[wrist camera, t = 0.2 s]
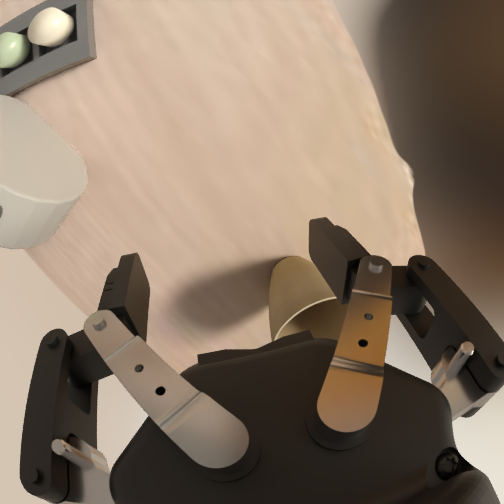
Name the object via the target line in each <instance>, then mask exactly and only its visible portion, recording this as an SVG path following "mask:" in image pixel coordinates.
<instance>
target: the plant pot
mask: <svg viewBox="0 0 504 504" xmlns="http://www.w3.org/2000/svg"><path fill="white" fill-rule="evenodd" d="M348 305H349V303H347V304H344V305H341V304H340V302H339V301H338V299H337V298H336V296H335V295H334V293H333V292H332V290H331V288H330V287H329V285H328V284H327V282H326V281H325V279H324V278H323V276H322V275H321V273H320V272H319V270H318V269H317V267H316V266H315V264H314V263H313V262H311V261H309V260H306V259H304V258H302V257H299V256H290V257H287V258H284V259H282V260H281V261H279V262H278V263H277V264H276V265H275V267H274V268H273V270H272V274H271V280H270V288H269V322H270V331H271V338H272V342H273V341H275V340H277V339H279V338H281V337H283V336H287V335H291V334H295V333H299V332H302V331H306V330H310V332H311V334H312V336H313V337H324V338H330V339H334V340H339V337H340V334H341V330H342V327H343V323H344V320H345V316H346V313H347V309H348Z"/></svg>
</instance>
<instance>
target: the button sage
mask: <svg viewBox="0 0 504 504" xmlns="http://www.w3.org/2000/svg"><path fill="white" fill-rule="evenodd" d="M30 49H31V42H30V40H29V39H28V36H26V35H22V34H17V33H12V32H5V33H2V34H1V35H0V68H15V67H18V66H19V65H21V64H22V63H23V62H24V61H25V60H26V58H27V57H28V55H29V52H30Z"/></svg>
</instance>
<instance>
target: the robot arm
mask: <svg viewBox="0 0 504 504" xmlns="http://www.w3.org/2000/svg"><path fill="white" fill-rule="evenodd" d="M309 254H310V257H311V260H312V261H313V263H314V264H315V266H316V267H317V269H318V270H319V272H320V273H321V275H322V276H323V278H324V279H325V281H326V282H327V284H328V285H329V287H330V288H331V290H332V292H333V293H334V295H335V296H336V298H337V299H338V301H339V302H340V304H341V305H344V304H347V303H349V305H348V309H347V313H346V316H345V320H344V323H343V327H342V330H341V334H340V337H339V340H334V339H330V338H324V337H313V336H312V334H311V332H310V330H306V331H302V332H299V333H295V334H291V335H287V336H283V337H281V338H279V339H277V340H275V341H273V342H271V343H268V344H266V345H264V346H262V347H260V348H258V349H235V350H232V349H225V350H220V351H215V352H210V353H204V354H199V355H197V356H198V363H197V364H195V365H193V366H191V367H189V368H188V369H186V370H185V371H183V372H182V373H181V374H180V375H179V374H178V373H177V372H176V371H175V370H174V369H173V368H172V367H170V366H169V365H168V364H167V363H166V362H165V361H164V360H163V359H162V358H161V357H160V356H159V355H158V354H157V353H156V352H154V351H153V350H152V349H151V348H150V347H149V346H148V345H147V344H146V337H147V321H148V309H149V297H150V287H149V282H148V279H147V276H146V274H145V271H144V268H143V265H142V263H141V260H140V257H139V255H138V253H133V254H128V255H123V256H121V259H120V262H119V266H118V268H114V269H113V270H112V271H111V272H110V273H109V275H108V276H107V279H106V282H105V285H104V289H103V292H102V296H101V299H100V303H99V307H98V310H97V312H95V313H93V314H92V315H90V316H89V317H88V318H87V320H86V321H85V323H84V329H83V330H81V331H79V332H77V333H74V334H72V335H70V336H68V335H67V333H66V332H65V331H64V330H63V329H54V330H52V331H50V332H49V333H47V334H46V335H45V336H44V337H43V339H42V341H41V343H40V346H39V350H38V354H37V358H36V362H35V366H34V370H33V374H32V379H31V384H30V388H29V393H28V399H27V404H26V410H25V417H24V425H23V433H22V443H21V455H20V480H21V483H22V485H23V487H24V488H25V489H26V491H27V492H29V493H30V494H32V495H34V496H37V497H39V498H41V499H44V500H46V501H48V502H49V503H52V504H500V501H499V499H498V497H497V495H496V493H495V491H494V489H493V486H492V484H491V482H490V480H489V478H488V477H487V476H486V475H485V474H484V473H483V472H481V471H480V470H478V469H477V468H475V467H474V466H472V465H471V464H470V463H469V462H467V461H466V460H465V459H464V458H463V457H462V456H461V455H460V453H459V452H458V450H457V448H456V445H455V441H454V436H453V428H452V421H454V420H455V419H457V418H458V417H460V416H461V417H465V418H467V417H471V416H473V415H474V414H475V413H476V412H477V411H478V410H479V409H480V408H481V407H483V406H484V405H485V404H486V403H487V402H488V401H489V400H490V398H492V397H493V396H494V395H495V393H497V391H498V390H499V389H500V388H501V387H502V386H503V385H504V342H503V341H502V339H501V338H500V337H499V335H498V334H497V333H496V331H495V330H494V329H493V328H492V326H491V325H490V324H489V322H488V321H487V320H486V319H485V317H484V316H483V315H482V314H481V313H480V311H479V310H478V309H477V308H476V307H475V305H474V304H473V303H472V302H471V301H470V300H469V298H468V297H467V296H466V295H465V294H464V293H463V292H462V290H461V289H460V288H459V287H458V286H457V285H456V284H455V283H454V282H453V281H452V279H451V278H450V277H449V276H448V275H447V274H446V273H445V272H444V271H443V270H442V269H441V268H440V267H439V266H438V265H437V264H436V263H435V262H434V261H433V260H432V259H430V258H429V257H426V256H422V255H415V256H412V257H411V258H410V259H409V261H408V265H407V266H392V264H391V263H390V262H389V261H388V260H387V259H385V258H383V257H381V256H376V255H370V254H369V253H368V252H367V251H366V249H365V248H364V247H363V246H362V245H361V244H360V243H359V242H358V241H357V240H356V239H355V238H354V237H352V235H351V234H350V233H349V232H348V231H347V230H346V229H344V228H342V227H340V226H338V225H337V226H334V225H333V224H332V223H331V222H330V221H329V219H328V218H326V217H323V218H317V219H312V220H310V222H309ZM426 301H428V302H429V304H430V305H431V306H432V308H433V309H434V314H435V316H433V315H432V313H431V312H430V311H429V309H428V308H427V307H426V305H425V304H426ZM391 315H397V317H398V318H399V320H400V321H401V323H402V324H403V326H404V327H405V329H406V330H407V332H408V333H409V335H410V337H411V338H412V340H413V341H414V343H415V344H416V346H417V347H418V349H419V351H420V352H421V354H422V355H423V357H424V359H425V360H426V362H427V364H428V365H429V367H430V369H431V370H432V373H431V382H432V384H431V383H429V382H427V381H424V380H422V379H420V378H418V377H415V376H413V375H411V374H408V373H406V372H404V371H402V370H400V369H398V368H396V367H393V366H391V365H389V364H387V363H385V356H386V349H387V343H388V335H389V327H390V318H391ZM112 374H114V375H115V376H116V377H117V378H118V380H119V381H120V382H121V383H122V385H123V386H124V387H125V388H126V390H127V391H128V392H129V393H130V394H131V396H132V397H133V398H134V399H135V400H136V402H137V403H138V404H139V405H140V406H141V407H142V408H143V410H144V411H145V412H146V413H147V414H148V415H149V416H148V417H147V419H146V420H145V421H144V423H143V424H142V426H141V427H140V429H139V430H138V431H137V433H136V434H135V435H134V437H133V438H132V440H131V441H130V442H129V444H128V445H127V447H126V448H125V449H124V451H123V452H122V454H121V455H120V456H119V458H118V460H116V462H115V464H114V466H113V467H112V470H111V472H110V471H109V468H108V464H107V460H106V458H105V457H104V455H103V454H102V453H101V452H100V451H98V450H97V396H98V380H100V379H102V378H105V377H107V376H110V375H112Z"/></svg>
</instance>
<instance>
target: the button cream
mask: <svg viewBox="0 0 504 504" xmlns="http://www.w3.org/2000/svg"><path fill="white" fill-rule="evenodd" d="M73 30H74V19H73V18H72V17H71V16H70V15H68V14H66V13H64V12H63V11H61V10H59V9H57V8H54V7H50V8H46V9H44V10H42V11H41V12H39V13H38V14H37V15H36V16H35V17H34V18H33V20H32V21H31V23H30V25H29V28H28V39H29V40H30V42H32V43H34V44H38V45H43V46H48V47H57V46H59V45H61V44H63V43H64V42H65V41H67V39H68V38H69V37H70V36H71V34H72V32H73Z"/></svg>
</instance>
